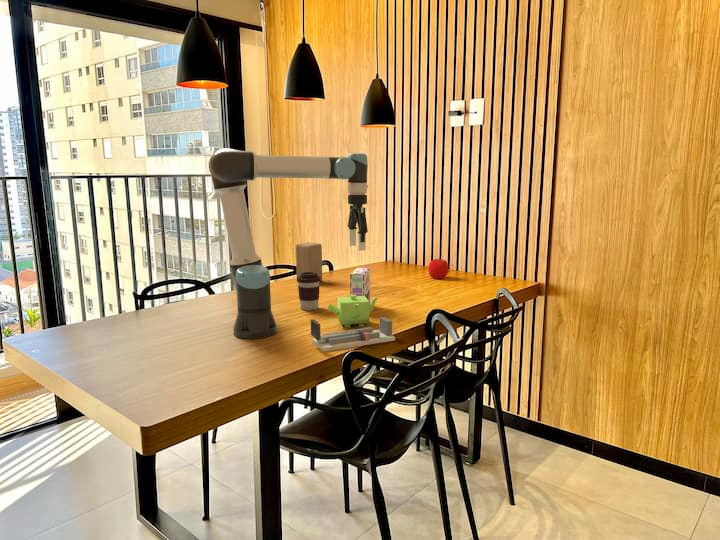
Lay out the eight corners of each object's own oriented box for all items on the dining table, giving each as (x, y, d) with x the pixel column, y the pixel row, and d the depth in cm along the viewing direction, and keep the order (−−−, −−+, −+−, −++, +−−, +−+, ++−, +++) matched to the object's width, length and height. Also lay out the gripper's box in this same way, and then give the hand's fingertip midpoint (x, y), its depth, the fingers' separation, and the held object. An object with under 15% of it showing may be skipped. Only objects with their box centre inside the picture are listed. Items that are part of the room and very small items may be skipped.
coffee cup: (326, 308, 216) (325, 273, 214) (308, 312, 209) (307, 276, 207) (310, 304, 223) (309, 270, 220) (292, 308, 216) (291, 273, 213)
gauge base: (322, 351, 164) (322, 333, 163) (312, 342, 173) (312, 324, 172) (395, 340, 175) (395, 322, 174) (381, 332, 184) (381, 315, 183)
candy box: (364, 313, 208) (364, 273, 205) (349, 313, 209) (349, 273, 206) (370, 305, 221) (370, 267, 218) (357, 304, 222) (356, 267, 219)
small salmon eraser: (365, 340, 170) (365, 334, 170) (363, 339, 171) (363, 332, 171) (368, 339, 171) (368, 333, 170) (367, 338, 172) (367, 332, 171)
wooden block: (308, 279, 275) (307, 241, 271) (323, 281, 269) (322, 243, 265) (295, 282, 267) (294, 244, 263) (310, 284, 261) (309, 245, 257)
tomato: (428, 276, 281) (428, 256, 279) (448, 276, 279) (448, 256, 277) (428, 280, 271) (428, 259, 269) (448, 280, 269) (449, 260, 267)
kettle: (380, 322, 196) (380, 293, 194) (360, 332, 184) (359, 301, 182) (348, 316, 204) (347, 288, 202) (326, 325, 192) (325, 296, 190)
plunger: (319, 347, 164) (318, 326, 162) (311, 340, 171) (310, 319, 169) (363, 340, 170) (363, 320, 169) (354, 334, 177) (353, 314, 176)
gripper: (376, 195, 190) (375, 252, 194) (358, 192, 214) (357, 243, 218) (356, 195, 188) (356, 252, 192) (340, 192, 212) (340, 244, 216)
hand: (357, 248), depth 205 cm, fingers open, 13 cm apart
